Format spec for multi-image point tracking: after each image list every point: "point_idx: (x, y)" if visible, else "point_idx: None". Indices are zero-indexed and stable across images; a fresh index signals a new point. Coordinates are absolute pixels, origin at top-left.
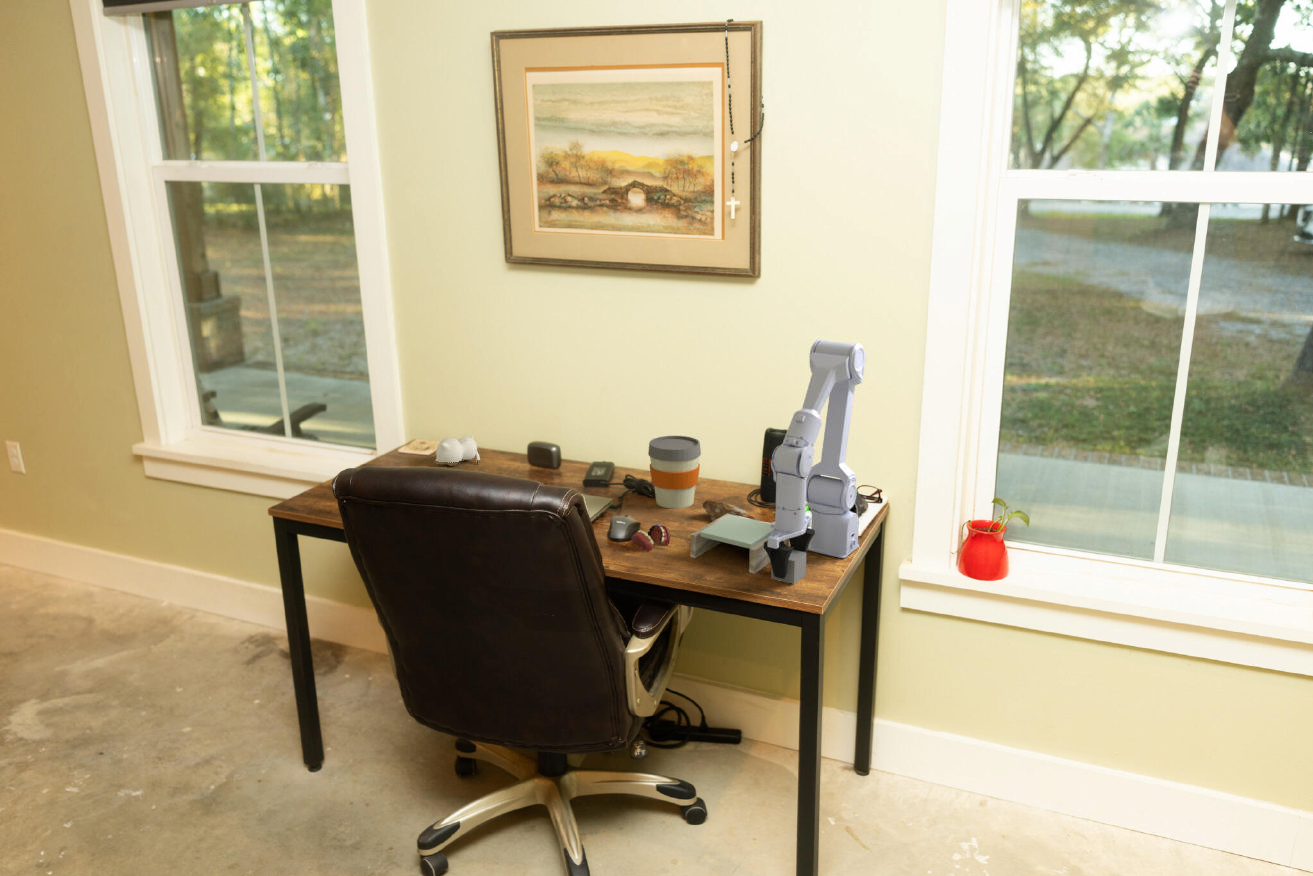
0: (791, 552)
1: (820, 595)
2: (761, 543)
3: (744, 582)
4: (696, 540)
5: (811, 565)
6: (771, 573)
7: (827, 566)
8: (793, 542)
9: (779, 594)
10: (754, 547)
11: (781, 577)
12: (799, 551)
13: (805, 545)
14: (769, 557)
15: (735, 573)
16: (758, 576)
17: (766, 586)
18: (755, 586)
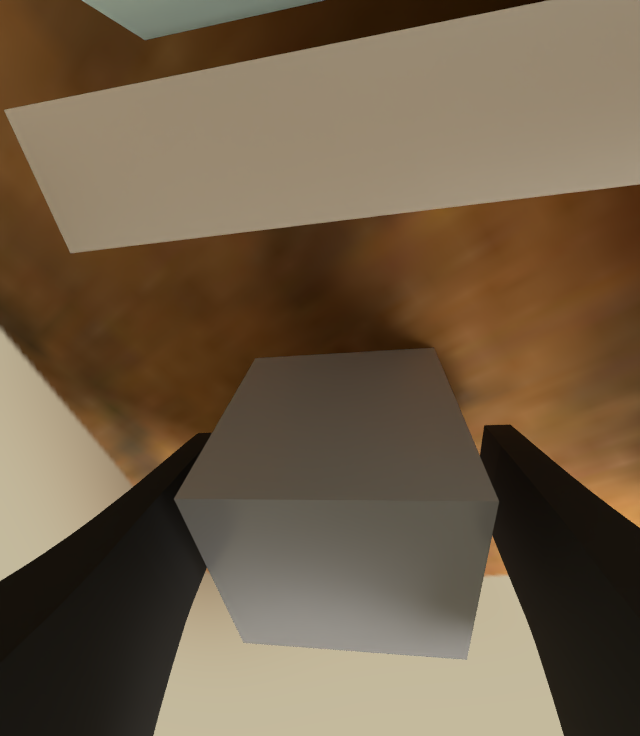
0: (394, 591)
1: None
2: (458, 117)
3: (63, 249)
4: None
5: (611, 448)
6: (242, 380)
7: (629, 513)
8: (606, 639)
9: (144, 475)
10: (144, 148)
11: None
12: (462, 626)
13: (557, 711)
14: (30, 568)
15: (94, 43)
16: (217, 269)
17: (151, 391)
18: (94, 344)
